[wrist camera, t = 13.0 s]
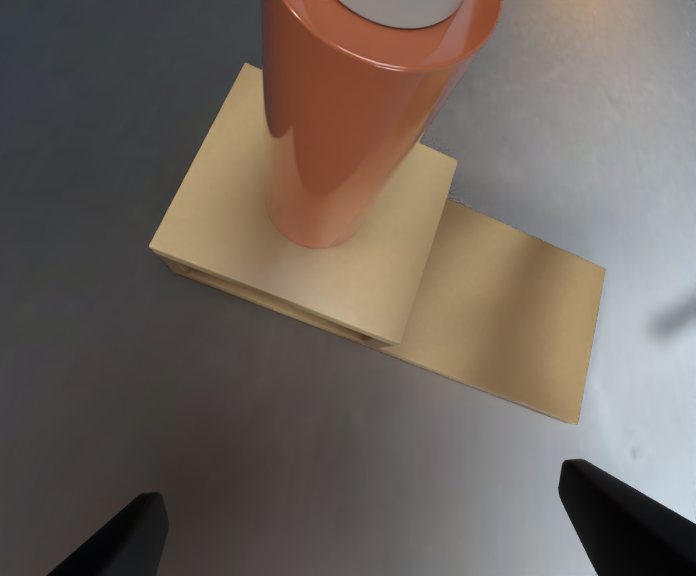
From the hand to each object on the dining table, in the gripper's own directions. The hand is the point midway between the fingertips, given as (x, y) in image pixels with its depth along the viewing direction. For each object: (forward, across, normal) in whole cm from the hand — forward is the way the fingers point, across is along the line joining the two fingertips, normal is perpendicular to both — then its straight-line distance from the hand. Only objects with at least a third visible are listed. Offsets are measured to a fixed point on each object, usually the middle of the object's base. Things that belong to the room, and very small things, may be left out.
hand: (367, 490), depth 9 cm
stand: (+15, -4, -1) cm, 16 cm away
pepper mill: (+12, +1, -5) cm, 13 cm away
